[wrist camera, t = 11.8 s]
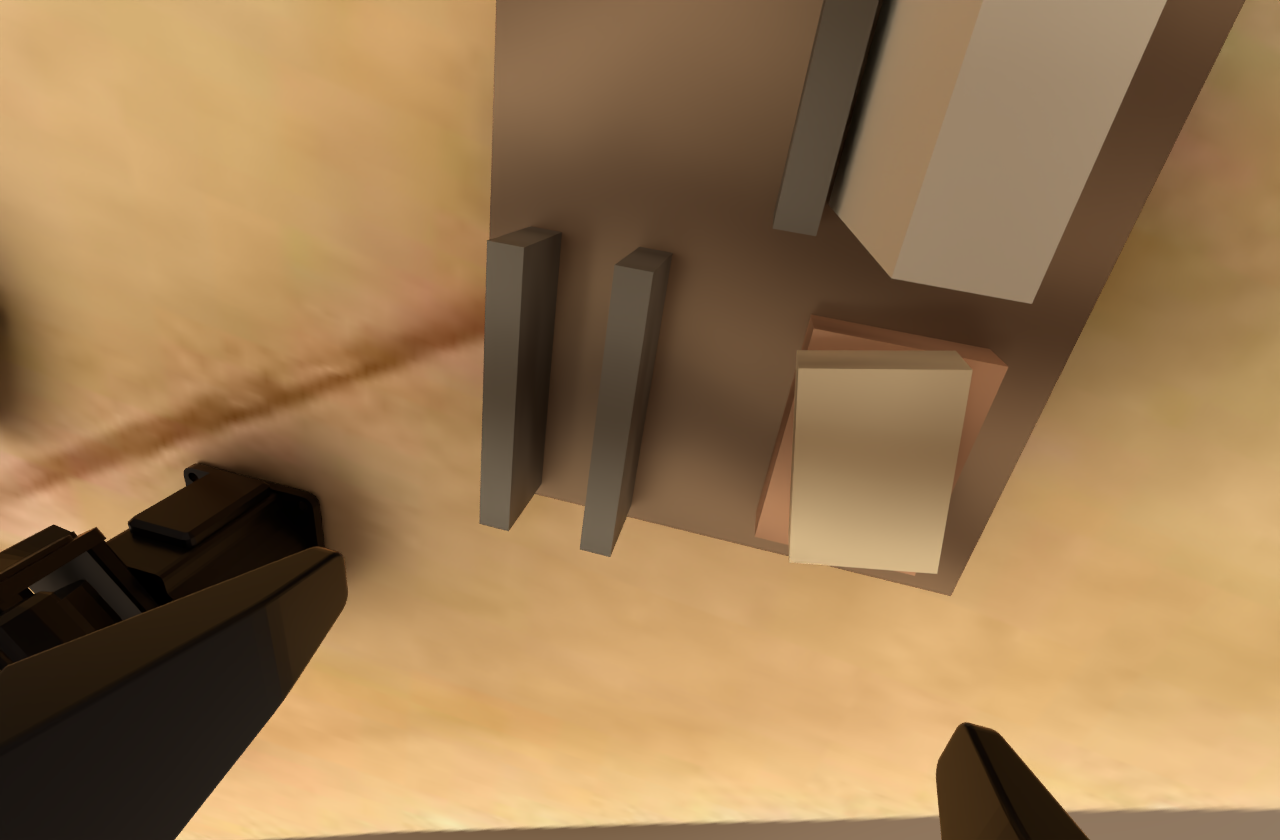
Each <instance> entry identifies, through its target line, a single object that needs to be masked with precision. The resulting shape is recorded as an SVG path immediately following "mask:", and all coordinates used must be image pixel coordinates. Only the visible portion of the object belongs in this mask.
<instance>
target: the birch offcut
mask: <svg viewBox="0 0 1280 840" xmlns="http://www.w3.org/2000/svg"><path fill="white" fill-rule="evenodd" d="M972 371H973V370H972V369H971V368H970V366H969V365H968V364H967V363H966V362H965V361H964V359H963V358H962V357H961V356H960V355H959V354H958V353H957V351H885V350H797V356H796V378H795V399H794V421H793V443H792V464H791V486H790V508H789V529H788V539H789V563H802V564H815V565H828V566H841V567H854V568H867V569H880V570H893V571H906V572H919V573H932V574H937V572H938V566H939V560H940V555H941V549H942V543H943V538H944V532H945V526H946V520H947V515H948V509H949V503H950V497H951V492H952V486H953V480H954V474H955V469H956V463H957V457H958V452H959V446H960V440H961V434H962V429H963V423H964V417H965V411H966V406H967V400H968V394H969V388H970V383H971V377H972Z"/></svg>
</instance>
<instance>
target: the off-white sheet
mask: <svg viewBox="0 0 1280 840" xmlns="http://www.w3.org/2000/svg"><path fill="white" fill-rule="evenodd" d="M1166 1H1167V0H883V3H882V7H881V11H880V15H879V18H878V22H877V26H876V29H875V33H874V37H873V41H872V44H871V48H870V52H869V55H868V59H867V63H866V67H865V70H864V74H863V78H862V82H861V85H860V89H859V93H858V96H857V100H856V104H855V108H854V111H853V115H852V119H851V122H850V126H849V130H848V134H847V137H846V141H845V145H844V149H843V152H842V156H841V160H840V163H839V167H838V171H837V175H836V178H835V182H834V186H833V190H832V193H831V197H830V201H829V204H828V205H829V206H830V207H831V208H832V209H833V210H834V212H835V213H836V214H837V215H838V216H839V218H840V219H841V220H842V221H843V222H844V223H845V225H846V226H847V227H848V228H849V229H850V230H851V232H852V233H853V234H854V235H855V236H856V237H857V239H858V240H859V241H860V242H861V243H862V245H863V246H864V247H865V248H866V249H867V250H868V252H869V253H870V254H871V255H872V256H873V257H874V259H875V260H876V261H877V262H878V263H879V264H880V266H881V267H882V268H883V269H884V270H885V271H886V273H887V274H888V275H889V276H890V277H891V278H892V279H898V280H903V281H909V282H914V283H920V284H925V285H931V286H936V287H942V288H947V289H953V290H958V291H964V292H969V293H975V294H980V295H986V296H991V297H996V298H1002V299H1007V300H1013V301H1018V302H1024V303H1029V304H1032V303H1033V300H1034V298H1035V296H1036V294H1037V291H1038V289H1039V287H1040V285H1041V282H1042V280H1043V278H1044V276H1045V273H1046V271H1047V269H1048V267H1049V264H1050V262H1051V260H1052V258H1053V255H1054V253H1055V251H1056V249H1057V246H1058V244H1059V242H1060V240H1061V237H1062V235H1063V233H1064V231H1065V228H1066V226H1067V224H1068V222H1069V219H1070V217H1071V215H1072V213H1073V210H1074V208H1075V206H1076V204H1077V201H1078V199H1079V197H1080V195H1081V192H1082V190H1083V188H1084V186H1085V183H1086V181H1087V179H1088V177H1089V174H1090V172H1091V170H1092V168H1093V165H1094V163H1095V161H1096V159H1097V156H1098V154H1099V152H1100V150H1101V147H1102V145H1103V143H1104V141H1105V138H1106V136H1107V134H1108V132H1109V129H1110V127H1111V125H1112V123H1113V120H1114V118H1115V116H1116V114H1117V112H1118V109H1119V107H1120V105H1121V103H1122V100H1123V98H1124V96H1125V94H1126V91H1127V89H1128V87H1129V85H1130V82H1131V80H1132V78H1133V76H1134V73H1135V71H1136V69H1137V67H1138V64H1139V62H1140V60H1141V58H1142V55H1143V53H1144V51H1145V49H1146V46H1147V44H1148V42H1149V40H1150V37H1151V35H1152V33H1153V31H1154V28H1155V26H1156V24H1157V22H1158V19H1159V17H1160V15H1161V13H1162V10H1163V8H1164V6H1165V4H1166Z"/></svg>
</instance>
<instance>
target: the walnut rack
mask: <svg viewBox="0 0 1280 840" xmlns="http://www.w3.org/2000/svg"><path fill="white" fill-rule="evenodd" d="M1244 2H1245V0H1167V1H1166V4H1165V6H1164V8H1163V10H1162V13H1161V15H1160V17H1159V19H1158V22H1157V24H1156V26H1155V28H1154V31H1153V33H1152V35H1151V37H1150V40H1149V42H1148V44H1147V46H1146V49H1145V51H1144V53H1143V55H1142V58H1141V60H1140V62H1139V64H1138V67H1137V69H1136V71H1135V73H1134V76H1133V78H1132V80H1131V82H1130V85H1129V87H1128V89H1127V91H1126V94H1125V96H1124V98H1123V100H1122V103H1121V105H1120V107H1119V109H1118V112H1117V114H1116V116H1115V118H1114V120H1113V123H1112V125H1111V127H1110V129H1109V132H1108V134H1107V136H1106V138H1105V141H1104V143H1103V145H1102V147H1101V150H1100V152H1099V154H1098V156H1097V159H1096V161H1095V163H1094V165H1093V168H1092V170H1091V172H1090V174H1089V177H1088V179H1087V181H1086V183H1085V186H1084V188H1083V190H1082V192H1081V195H1080V197H1079V199H1078V201H1077V204H1076V206H1075V208H1074V210H1073V213H1072V215H1071V217H1070V219H1069V222H1068V224H1067V226H1066V228H1065V231H1064V233H1063V235H1062V237H1061V240H1060V242H1059V244H1058V246H1057V249H1056V251H1055V253H1054V255H1053V258H1052V260H1051V262H1050V264H1049V267H1048V269H1047V271H1046V273H1045V276H1044V278H1043V280H1042V282H1041V285H1040V287H1039V289H1038V291H1037V294H1036V296H1035V298H1034V300H1033V303H1032V304H1029V303H1024V302H1018V301H1013V300H1007V299H1002V298H996V297H991V296H986V295H980V294H975V293H969V292H964V291H958V290H953V289H947V288H942V287H936V286H931V285H925V284H920V283H914V282H909V281H903V280H898V279H892V278H891V277H890V276H889V275H888V274H887V273H886V271H885V270H884V269H883V268H882V267H881V266H880V264H879V263H878V262H877V261H876V260H875V259H874V257H873V256H872V255H871V254H870V253H869V252H868V250H867V249H866V248H865V247H864V246H863V245H862V243H861V242H860V241H859V240H858V239H857V237H856V236H855V235H854V234H853V233H852V232H851V230H850V229H849V228H848V227H847V226H846V225H845V223H844V222H843V221H842V220H841V219H840V218H839V216H838V215H837V214H836V213H835V212H834V210H833V209H832V208H831V207H830V206H829V205H828V204H829V201H830V197H831V193H832V190H833V186H834V182H835V178H836V175H837V171H838V167H839V163H840V160H841V156H842V152H843V149H844V145H845V141H846V137H847V134H848V130H849V126H850V122H851V119H852V115H853V111H854V108H855V104H856V100H857V96H858V93H859V89H860V85H861V82H862V78H863V74H864V70H865V67H866V63H867V59H868V55H869V52H870V48H871V44H872V41H873V37H874V33H875V29H876V26H877V22H878V18H879V15H880V11H881V7H882V3H883V0H496V30H495V65H494V100H493V135H492V170H491V205H490V240H487V265H486V302H485V339H484V376H483V413H482V451H481V488H480V524H483V525H487V526H491V527H494V528H498V529H502V530H506V531H509V530H510V528H511V527H512V525H513V524H514V523H515V521H516V520H517V518H518V517H519V515H520V514H521V513H522V511H523V510H524V508H525V507H526V505H527V504H528V503H529V501H530V500H531V498H532V497H533V495H534V494H538V495H542V496H546V497H550V498H554V499H558V500H562V501H566V502H570V503H574V504H578V505H582V506H585V511H584V519H583V527H582V535H581V544H580V549H581V550H584V551H588V552H592V553H596V554H600V555H604V556H608V557H610V556H611V554H612V551H613V549H614V546H615V544H616V542H617V539H618V537H619V534H620V532H621V529H622V527H623V524H624V522H625V520H626V517H631V518H635V519H639V520H643V521H648V522H652V523H656V524H660V525H664V526H668V527H672V528H676V529H680V530H684V531H688V532H692V533H696V534H700V535H704V536H709V537H713V538H717V539H721V540H725V541H729V542H733V543H737V544H741V545H745V546H749V547H753V548H757V549H761V550H765V551H770V552H774V553H778V554H782V555H786V556H789V545H786V544H782V543H778V542H774V541H770V540H766V539H762V538H758V537H755V523H756V510H757V507H758V503H759V499H760V496H761V492H762V489H763V485H764V481H765V478H766V474H767V471H768V467H769V463H770V460H771V456H772V453H773V449H774V446H775V442H776V438H777V435H778V431H779V428H780V424H781V420H782V417H783V413H784V410H785V406H786V402H787V399H788V395H789V392H790V388H791V385H792V381H793V377H794V374H795V370H796V356H797V350H801V349H802V345H803V341H804V338H805V334H806V331H807V327H808V324H809V320H810V316H811V315H816V316H822V317H827V318H832V319H837V320H842V321H847V322H853V323H858V324H863V325H868V326H873V327H878V328H883V329H889V330H894V331H899V332H904V333H909V334H914V335H920V336H925V337H930V338H935V339H940V340H945V341H951V342H956V343H961V344H966V345H971V346H976V347H981V348H987V349H990V350H991V351H993V352H994V353H995V354H996V355H997V356H998V357H999V358H1000V359H1001V360H1002V361H1003V362H1004V363H1005V364H1006V365H1007V366H1008V369H1007V371H1006V374H1005V376H1004V378H1003V380H1002V383H1001V385H1000V387H999V389H998V391H997V394H996V396H995V398H994V400H993V403H992V405H991V407H990V409H989V411H988V414H987V416H986V418H985V420H984V423H983V425H982V427H981V429H980V432H979V434H978V436H977V438H976V440H975V443H974V445H973V447H972V449H971V452H970V454H969V456H968V458H967V460H966V463H965V465H964V467H963V469H962V472H961V474H960V476H959V478H958V480H957V483H956V485H955V487H954V489H953V492H952V494H951V497H950V503H949V509H948V515H947V520H946V526H945V532H944V538H943V543H942V549H941V555H940V560H939V566H938V572H937V574H932V573H919V572H916V574H915V576H914V575H909V574H905V573H901V572H897V571H893V570H880V569H867V568H854V567H841V566H831V567H835V568H839V569H843V570H847V571H851V572H855V573H859V574H863V575H867V576H871V577H875V578H879V579H883V580H888V581H892V582H896V583H900V584H904V585H908V586H912V587H916V588H920V589H924V590H928V591H932V592H936V593H940V594H945V595H949V596H951V595H952V593H953V591H954V589H955V587H956V585H957V582H958V580H959V578H960V576H961V574H962V572H963V570H964V568H965V566H966V564H967V562H968V560H969V558H970V556H971V554H972V552H973V550H974V548H975V546H976V544H977V542H978V540H979V538H980V536H981V534H982V532H983V530H984V528H985V526H986V524H987V522H988V520H989V518H990V516H991V514H992V512H993V510H994V508H995V506H996V504H997V502H998V500H999V498H1000V495H1001V493H1002V491H1003V489H1004V487H1005V485H1006V483H1007V481H1008V479H1009V477H1010V475H1011V473H1012V471H1013V469H1014V467H1015V465H1016V463H1017V461H1018V459H1019V457H1020V455H1021V453H1022V451H1023V449H1024V447H1025V445H1026V443H1027V441H1028V439H1029V437H1030V435H1031V433H1032V431H1033V429H1034V427H1035V425H1036V423H1037V421H1038V419H1039V417H1040V415H1041V413H1042V411H1043V408H1044V406H1045V404H1046V402H1047V400H1048V398H1049V396H1050V394H1051V392H1052V390H1053V388H1054V386H1055V384H1056V382H1057V380H1058V378H1059V376H1060V374H1061V372H1062V370H1063V368H1064V366H1065V364H1066V362H1067V360H1068V358H1069V356H1070V354H1071V352H1072V350H1073V348H1074V346H1075V344H1076V342H1077V340H1078V338H1079V336H1080V334H1081V332H1082V330H1083V328H1084V326H1085V324H1086V321H1087V319H1088V317H1089V315H1090V313H1091V311H1092V309H1093V307H1094V305H1095V303H1096V301H1097V299H1098V297H1099V295H1100V293H1101V291H1102V289H1103V287H1104V285H1105V283H1106V281H1107V279H1108V277H1109V275H1110V273H1111V271H1112V269H1113V267H1114V265H1115V263H1116V261H1117V259H1118V257H1119V255H1120V253H1121V251H1122V249H1123V247H1124V245H1125V243H1126V241H1127V239H1128V237H1129V234H1130V232H1131V230H1132V228H1133V226H1134V224H1135V222H1136V220H1137V218H1138V216H1139V214H1140V212H1141V210H1142V208H1143V206H1144V204H1145V202H1146V200H1147V198H1148V196H1149V194H1150V192H1151V190H1152V188H1153V186H1154V184H1155V182H1156V180H1157V178H1158V176H1159V174H1160V172H1161V170H1162V168H1163V166H1164V164H1165V162H1166V160H1167V158H1168V156H1169V154H1170V152H1171V150H1172V147H1173V145H1174V143H1175V141H1176V139H1177V137H1178V135H1179V133H1180V131H1181V129H1182V127H1183V125H1184V123H1185V121H1186V119H1187V117H1188V115H1189V113H1190V111H1191V109H1192V107H1193V105H1194V103H1195V101H1196V99H1197V97H1198V95H1199V93H1200V91H1201V89H1202V87H1203V85H1204V83H1205V81H1206V79H1207V77H1208V75H1209V73H1210V71H1211V69H1212V67H1213V65H1214V63H1215V60H1216V58H1217V56H1218V54H1219V52H1220V50H1221V48H1222V46H1223V44H1224V42H1225V40H1226V38H1227V36H1228V34H1229V32H1230V30H1231V28H1232V26H1233V24H1234V22H1235V20H1236V18H1237V16H1238V14H1239V12H1240V10H1241V8H1242V6H1243V4H1244ZM827 566H828V565H827Z"/></svg>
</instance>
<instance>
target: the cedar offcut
mask: <svg viewBox="0 0 1280 840" xmlns="http://www.w3.org/2000/svg"><path fill="white" fill-rule="evenodd" d="M801 350H885V351H957V353H958V354H959V355H960V356H961V357H962V358H963V359H964V361H965V362H966V363H967V364H968V365H969V366H970V368H971V369H972V370H973V371H972V377H971V383H970V388H969V394H968V400H967V406H966V411H965V417H964V423H963V429H962V434H961V440H960V446H959V452H958V457H957V463H956V469H955V474H954V480H953V486H952V492H953V489H954V487H955V485H956V483H957V480H958V478H959V476H960V474H961V472H962V469H963V467H964V465H965V463H966V460H967V458H968V456H969V454H970V452H971V449H972V447H973V445H974V443H975V440H976V438H977V436H978V434H979V432H980V429H981V427H982V425H983V423H984V420H985V418H986V416H987V414H988V411H989V409H990V407H991V405H992V403H993V400H994V398H995V396H996V394H997V391H998V389H999V387H1000V385H1001V383H1002V380H1003V378H1004V376H1005V374H1006V371H1007V369H1008V366H1007V365H1006V364H1005V363H1004V362H1003V361H1002V360H1001V359H1000V358H999V357H998V356H997V355H996V354H995V353H994V352H993V351H991V350H990V349H987V348H981V347H976V346H971V345H966V344H961V343H956V342H951V341H945V340H940V339H935V338H930V337H925V336H920V335H914V334H909V333H904V332H899V331H894V330H889V329H883V328H878V327H873V326H868V325H863V324H858V323H853V322H847V321H842V320H837V319H832V318H827V317H822V316H816V315H811V316H810V320H809V324H808V327H807V331H806V334H805V338H804V341H803V345H802V349H801ZM795 378H796V370H795V374H794V377H793V381H792V385H791V388H790V392H789V395H788V399H787V402H786V406H785V410H784V413H783V417H782V420H781V424H780V428H779V431H778V435H777V438H776V442H775V446H774V449H773V453H772V456H771V460H770V463H769V467H768V471H767V474H766V478H765V481H764V485H763V489H762V492H761V496H760V499H759V503H758V507H757V510H756V523H755V537H758V538H762V539H766V540H770V541H774V542H778V543H782V544H786V545H789V539H788V529H789V508H790V486H791V464H792V443H793V421H794V399H795ZM952 492H951V494H952ZM897 572H901V573H905V574H909V575H914V576H915V574H916V572H906V571H897Z"/></svg>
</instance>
